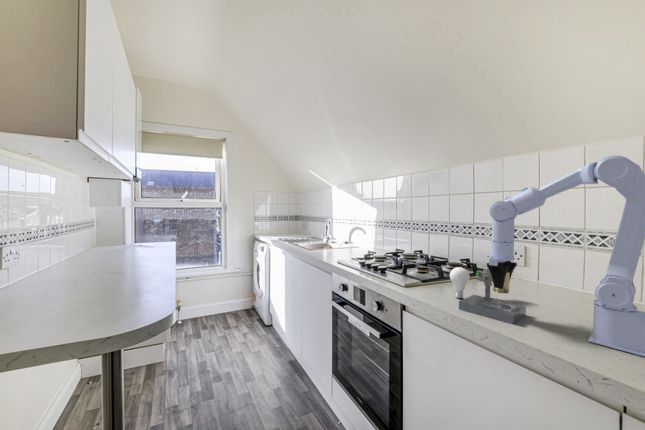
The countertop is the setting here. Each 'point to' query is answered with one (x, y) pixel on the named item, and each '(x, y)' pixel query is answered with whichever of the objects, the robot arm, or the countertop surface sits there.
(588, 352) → the countertop surface
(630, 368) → the countertop surface
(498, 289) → the cylinder
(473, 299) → the plate
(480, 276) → the mechanical component
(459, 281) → the lightbulb
